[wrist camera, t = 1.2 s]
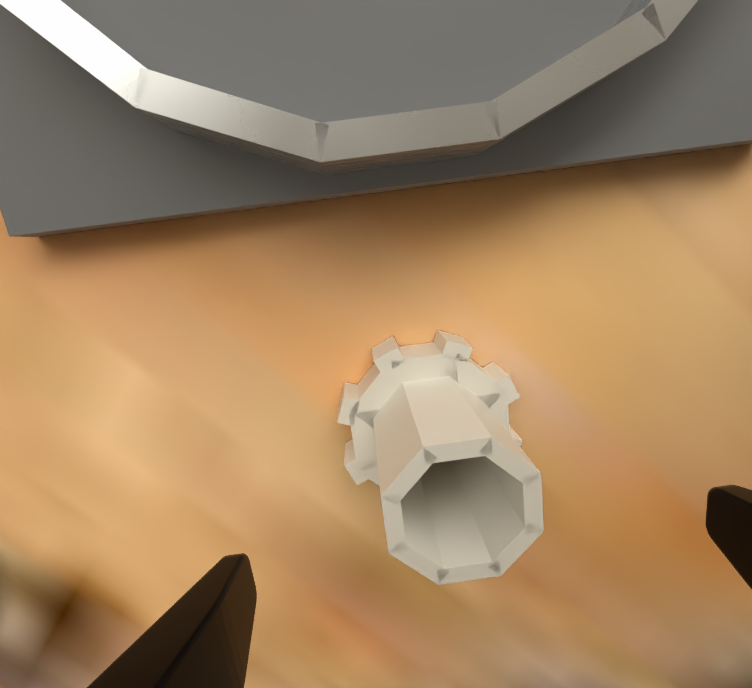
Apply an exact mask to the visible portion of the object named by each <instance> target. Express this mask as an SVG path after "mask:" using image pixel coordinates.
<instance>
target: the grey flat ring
mask: <svg viewBox="0 0 752 688" xmlns="http://www.w3.org/2000/svg"><path fill="white" fill-rule="evenodd" d="M697 1H698V0H633V1H632V2H631V3H630V4H629V6H628V7H627V8H626V10H625V11H624V12H623V13H622V15H621V16H620V17H619V19H618V20H617V21H616V22H615V24H614V25H613V26H612V27H611V29H609V30H608V31H606V32H604V33H603V34H601V35H599V36H598V37H596V38H594V39H593V40H591V41H589V42H588V43H586V44H584V45H583V46H581V47H579V48H578V49H576V50H574V51H573V52H571V53H569V54H568V55H566V56H565V57H563V58H561V59H560V60H558V61H556V62H555V63H553V64H551V65H550V66H548V67H546V68H545V69H543V70H541V71H540V72H538V73H536V74H535V75H533V76H531V77H530V78H528V79H527V80H525V81H523V82H522V83H520V84H518V85H517V86H515V87H513V88H512V89H510V90H508V91H507V92H505V93H503V94H502V95H500V96H498V97H497V98H495V99H493V100H492V101H488V102H480V103H472V104H465V105H457V106H449V107H441V108H433V109H425V110H418V111H410V112H402V113H394V114H386V115H378V116H371V117H363V118H355V119H347V120H339V121H331V122H324V123H321V122H318V121H315V120H311V119H308V118H305V117H302V116H298V115H295V114H292V113H288V112H285V111H282V110H279V109H275V108H272V107H269V106H266V105H262V104H259V103H256V102H253V101H249V100H246V99H243V98H239V97H236V96H233V95H230V94H226V93H223V92H220V91H217V90H213V89H210V88H207V87H204V86H200V85H197V84H194V83H191V82H187V81H184V80H181V79H177V78H174V77H171V76H168V75H164V74H161V73H158V72H155V71H151V70H148V69H147V68H145V67H144V66H143V65H141V64H140V63H139V62H138V61H136V60H135V59H134V58H133V57H131V56H130V55H129V54H128V53H126V52H125V51H124V50H123V49H121V48H120V47H119V46H117V45H116V44H115V43H114V42H112V41H111V40H110V39H109V38H107V37H106V36H105V35H104V34H102V33H101V32H100V31H99V30H97V29H96V28H95V27H93V26H92V25H91V24H90V23H88V22H87V21H86V20H85V19H83V18H82V17H81V16H80V15H78V14H77V13H76V12H75V11H73V10H72V9H71V8H69V7H68V6H67V5H66V4H64V3H63V2H62V1H61V0H0V4H1V5H2V6H4V7H5V8H6V9H8V10H9V11H10V12H11V13H13V14H14V15H15V16H17V17H18V18H19V19H21V20H22V21H23V22H24V23H26V24H27V25H28V26H30V27H31V28H32V29H34V30H35V31H36V32H37V33H39V34H40V35H41V36H43V37H44V38H45V39H47V40H48V41H49V42H51V43H52V44H53V45H54V46H56V47H57V48H58V49H60V50H61V51H62V52H64V53H65V54H66V55H67V56H69V57H70V58H71V59H73V60H74V61H75V62H77V63H78V64H79V65H80V66H82V67H83V68H84V69H86V70H87V71H88V72H90V73H91V74H92V75H93V76H95V77H96V78H97V79H99V80H100V81H101V82H103V83H104V84H105V85H106V86H108V87H109V88H110V89H112V90H113V91H114V92H116V93H117V94H118V95H119V96H121V97H122V98H123V99H125V100H126V101H127V102H129V103H130V104H131V105H132V106H134V107H135V108H137V109H138V110H140V111H142V112H143V113H145V114H147V115H148V116H150V117H152V118H153V119H155V120H157V121H158V122H160V123H162V124H163V125H165V126H167V127H168V128H170V129H172V130H173V131H176V132H180V133H183V134H187V135H190V136H194V137H197V138H200V139H204V140H207V141H211V142H214V143H217V144H221V145H224V146H228V147H231V148H234V149H238V150H241V151H245V152H248V153H251V154H255V155H258V156H262V157H265V158H269V159H272V160H275V161H279V162H282V163H286V164H289V165H292V166H296V167H299V168H303V169H306V170H309V171H313V172H316V173H320V174H323V175H334V174H342V173H349V172H357V171H365V170H373V169H380V168H388V167H396V166H404V165H411V164H419V163H427V162H434V161H442V160H450V159H458V158H465V157H473V156H477V155H478V154H480V153H482V152H483V151H485V150H487V149H488V148H490V147H492V146H494V145H495V144H497V143H499V142H500V141H502V140H504V139H505V138H507V137H509V136H510V135H512V134H514V133H515V132H517V131H519V130H520V129H522V128H524V127H525V126H527V125H529V124H530V123H532V122H534V121H536V120H537V119H539V118H541V117H542V116H544V115H546V114H547V113H549V112H551V111H552V110H554V109H556V108H557V107H559V106H561V105H562V104H564V103H566V102H567V101H569V100H571V99H572V98H574V97H576V96H578V95H579V94H581V93H583V92H584V91H586V90H588V89H589V88H591V87H593V86H594V85H596V84H598V83H599V82H601V81H603V80H604V79H606V78H608V77H609V76H611V75H613V74H614V73H616V72H617V71H619V70H620V69H622V68H624V67H625V66H627V65H628V64H630V63H631V62H633V61H634V60H636V59H637V58H639V57H641V56H642V55H644V54H645V53H647V52H648V51H650V50H651V49H653V48H654V47H656V46H658V45H659V44H661V43H662V42H664V41H665V40H666V39H667V38H668V37H669V36H670V34H671V33H672V32H673V31H674V29H675V28H676V27H677V26H678V25H679V23H680V22H681V21H682V20H683V18H684V17H685V16H686V15H687V13H688V12H689V11H690V10H691V8H692V7H693V6H694V5H695V4H696V2H697Z"/></svg>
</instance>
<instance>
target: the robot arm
mask: <svg viewBox="0 0 752 688" xmlns="http://www.w3.org/2000/svg"><path fill="white" fill-rule="evenodd" d="M706 529H707V531H708V534H709V535H710V537H711V539H712V540H713V541H714V542H715V544H716V545H717V546H718V548H719V549H720V550H721V551H722V553H723V554H724V555H725V556H726V558H727V559H728V560H729V561H730V563H731V564H732V565H733V566H734V568H735V569H736V570H737V571H738V573H739V574H740V575H741V576H742V578H743V579H744V580H745V582H746V583H747V584H748V585H749V587H750V588H751V589H752V490H749V489H746V488H743V487H740V486H736V485H727V486H720V487H714V488H712V489H710V491H709V492H708V496H707V510H706ZM256 599H257V593H256V586H255V582H254V578H253V573H252V569H251V565H250V561H249V558H248V556H247V555H246V554H244V553H242V554H235V555H228V556H225V557H223V558H222V559H221V560H220V561H219V562H218V563H217V564H216V565H215V566H214V567H213V568H212V569H210V570H209V571H208V572H207V573H206V574H205V575H204V576H203V577H202V578H201V579H200V580H199V581H198V582H197V583H196V584H195V585H194V586H193V587H192V588H191V589H190V590H188V591H187V592H186V593H185V594H184V595H183V596H182V597H181V598H180V599H179V600H178V601H177V602H176V603H175V604H174V605H173V606H172V607H171V608H170V609H169V610H168V611H167V612H165V613H164V614H163V615H162V616H161V617H160V618H159V619H158V620H157V621H156V622H155V623H154V624H153V625H152V626H151V627H150V628H149V629H148V630H147V631H146V632H145V633H144V634H142V635H141V636H140V637H139V638H138V639H137V640H136V641H135V642H134V643H133V644H132V645H131V646H130V647H129V648H128V649H127V650H126V651H125V652H124V653H123V654H122V655H120V656H119V657H118V658H117V659H116V660H115V661H114V662H113V663H112V664H111V665H110V666H109V667H108V668H107V669H106V670H105V671H104V672H103V673H102V674H101V675H100V676H99V677H97V678H96V679H95V680H94V681H93V682H92V683H91V684H90V685H89V686H88V687H87V688H244V683H245V677H246V670H247V663H248V656H249V649H250V643H251V636H252V629H253V622H254V615H255V608H256Z"/></svg>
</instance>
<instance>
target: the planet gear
mask: <svg viewBox="0 0 752 688" xmlns="http://www.w3.org/2000/svg"><path fill="white" fill-rule="evenodd" d="M472 348H473V347H472V346H471V345H470V344H469V343H468V342H467V341H465V340H464V339H463V338H462V337H461V336H459V335H455V334H451V333H447V332H443V331H439V330H437V332H436V335H435V338H434V342H430V343H423V344H415V345H408V346H401V347H399V345H398V344H397V342H396V340H395V338H394V337H393V336H392V337H390V338H388V339H387V340H385V341H383V342H381V343H380V344H378V345H376V346H374V347H372V355H373V361H374V364H373V366H372V367H371V368H370V369H369V371H368V372H367V373H366V374H365V376H364V377H363V378H362V379H361V381H360V382H359V383H358V384H357V385H356V384H352V383H348V382H345V383H344V387H343V391H342V395H341V398H340V402H339V409H338V418H337V423H341V424H345V425H349V426H351V432H352V438H353V439H352V440H350V441H348V442H346V443H345V457H344V466H345V468H346V469H347V471H348V472H349V474H350V475H351V477H352V478H353V480H354V481H355V483H356V484H357V485H359V484H361V483H363V482H365V481H366V480H368V479H369V480H371V481H372V482H374V483H375V484H377V485H378V486H380V496H381V503H382V510H383V517H384V524H385V531H386V538H387V546H388V553H389V554H390V555H392V556H393V557H395V558H397V559H398V560H400V561H401V562H403V563H404V564H406V565H408V566H409V567H411V568H412V569H414V570H416V571H417V572H419V573H420V574H422V575H423V576H425V577H427V578H428V579H430V580H431V581H433V582H434V583H436V584H438V585H441V584H448V583H455V582H462V581H469V580H476V579H483V578H490V577H497V576H501V575H502V574H503V573H504V572H505V571H506V570H507V569H508V568H509V567H510V566H511V565H512V564H513V563H514V562H515V561H516V560H517V559H518V558H519V557H520V555H521V554H522V553H523V552H524V551H525V550H526V549H527V548H528V547H529V546H530V545H531V544H532V543H533V542H534V541H535V540H536V539H537V538H538V537H539V536H540V535H541V534H542V533H543V503H542V476H541V473H540V472H539V470H538V469H537V468H536V466H535V465H534V464H533V463H532V461H531V460H530V459H529V458H528V456H527V455H526V454H525V453H524V451H523V450H522V449H521V448H520V446H521V443H522V440H521V438H520V437H519V436H518V435H517V434H516V432H515V431H514V430H513V429H512V428H511V426H510V425H509V411H508V404H509V403H511V402H513V401H515V400H517V399H518V398H520V396H519V394H518V392H517V390H516V388H515V386H514V384H513V382H512V380H511V378H510V376H509V375H508V374H507V373H506V372H505V371H503V370H502V369H501V368H500V367H499V366H498V365H497V364H495V363H494V362H492V363H490V364H488V365H486V366H484V367H483V368H482V367H480V366H479V365H478V364H477V363H475V362H474V361H473V360H471V359H470V358H469V357H470V354H471V351H472Z"/></svg>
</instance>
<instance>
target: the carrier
mask: <svg viewBox="0 0 752 688" xmlns="http://www.w3.org/2000/svg"><path fill="white" fill-rule="evenodd" d="M61 1H62V2H63V3H64V4H66V5H67V6H68V7H69V8H71V9H72V10H73V11H75V12H76V13H77V14H78V15H80V16H81V17H82V18H83V19H85V20H86V21H87V22H88V23H90V24H91V25H92V26H93V27H95V28H96V29H97V30H99V31H100V32H101V33H102V34H104V35H105V36H106V37H107V38H109V39H110V40H111V41H112V42H114V43H115V44H116V45H117V46H119V47H120V48H121V49H123V50H124V51H125V52H126V53H128V54H129V55H130V56H131V57H133V58H134V59H135V60H136V61H138V62H139V63H140V64H141V65H143V66H144V67H145V68H147V69H148V70H151V71H155V72H158V73H161V74H164V75H168V76H171V77H174V78H177V79H181V80H184V81H187V82H191V83H194V84H197V85H200V86H204V87H207V88H210V89H213V90H217V91H220V92H223V93H226V94H230V95H233V96H236V97H239V98H243V99H246V100H249V101H253V102H256V103H259V104H262V105H266V106H269V107H272V108H275V109H279V110H282V111H285V112H288V113H292V114H295V115H298V116H302V117H305V118H308V119H311V120H315V121H318V122H321V123H324V122H331V121H339V120H347V119H355V118H363V117H371V116H378V115H386V114H394V113H402V112H410V111H418V110H425V109H433V108H441V107H449V106H457V105H465V104H472V103H480V102H488V101H492V100H493V99H495V98H497V97H498V96H500V95H502V94H503V93H505V92H507V91H508V90H510V89H512V88H513V87H515V86H517V85H518V84H520V83H522V82H523V81H525V80H527V79H528V78H530V77H531V76H533V75H535V74H536V73H538V72H540V71H541V70H543V69H545V68H546V67H548V66H550V65H551V64H553V63H555V62H556V61H558V60H560V59H561V58H563V57H565V56H566V55H568V54H569V53H571V52H573V51H574V50H576V49H578V48H579V47H581V46H583V45H584V44H586V43H588V42H589V41H591V40H593V39H594V38H596V37H598V36H599V35H601V34H603V33H604V32H606V31H608V30H609V29H611V27H612V26H613V25H614V24H615V22H616V21H617V20H618V19H619V17H620V16H621V15H622V13H623V12H624V11H625V10H626V8H627V7H628V6H629V4H630V3H631V2H632V1H633V0H61ZM745 144H752V0H698V1H697V2H696V4H695V5H694V6H693V7H692V8H691V10H690V11H689V12H688V13H687V15H686V16H685V17H684V18H683V20H682V21H681V22H680V23H679V25H678V26H677V27H676V28H675V29H674V31H673V32H672V33H671V34H670V36H669V37H668V38H667V39H666V40H665V41H664V42H662V43H661V44H659V45H658V46H656V47H654V48H653V49H651V50H650V51H648V52H647V53H645V54H644V55H642V56H641V57H639V58H637V59H636V60H634V61H633V62H631V63H630V64H628V65H627V66H625V67H624V68H622V69H620V70H619V71H617V72H616V73H614V74H613V75H611V76H609V77H608V78H606V79H604V80H603V81H601V82H599V83H598V84H596V85H594V86H593V87H591V88H589V89H588V90H586V91H584V92H583V93H581V94H579V95H578V96H576V97H574V98H572V99H571V100H569V101H567V102H566V103H564V104H562V105H561V106H559V107H557V108H556V109H554V110H552V111H551V112H549V113H547V114H546V115H544V116H542V117H541V118H539V119H537V120H536V121H534V122H532V123H530V124H529V125H527V126H525V127H524V128H522V129H520V130H519V131H517V132H515V133H514V134H512V135H510V136H509V137H507V138H505V139H504V140H502V141H500V142H499V143H497V144H495V145H494V146H492V147H490V148H488V149H487V150H485V151H483V152H482V153H480V154H478V155H477V156H473V157H465V158H458V159H450V160H442V161H434V162H427V163H419V164H411V165H404V166H396V167H388V168H380V169H373V170H365V171H357V172H349V173H342V174H334V175H323V174H320V173H316V172H313V171H309V170H306V169H303V168H299V167H296V166H292V165H289V164H286V163H282V162H279V161H275V160H272V159H269V158H265V157H262V156H258V155H255V154H251V153H248V152H245V151H241V150H238V149H234V148H231V147H228V146H224V145H221V144H217V143H214V142H211V141H207V140H204V139H200V138H197V137H194V136H190V135H187V134H183V133H180V132H176V131H173V130H172V129H170V128H168V127H167V126H165V125H163V124H162V123H160V122H158V121H157V120H155V119H153V118H152V117H150V116H148V115H147V114H145V113H143V112H142V111H140V110H138V109H137V108H135V107H134V106H132V105H131V104H130V103H129V102H127V101H126V100H125V99H123V98H122V97H121V96H119V95H118V94H117V93H116V92H114V91H113V90H112V89H110V88H109V87H108V86H106V85H105V84H104V83H103V82H101V81H100V80H99V79H97V78H96V77H95V76H93V75H92V74H91V73H90V72H88V71H87V70H86V69H84V68H83V67H82V66H80V65H79V64H78V63H77V62H75V61H74V60H73V59H71V58H70V57H69V56H67V55H66V54H65V53H64V52H62V51H61V50H60V49H58V48H57V47H56V46H54V45H53V44H52V43H51V42H49V41H48V40H47V39H45V38H44V37H43V36H41V35H40V34H39V33H37V32H36V31H35V30H34V29H32V28H31V27H30V26H28V25H27V24H26V23H24V22H23V21H22V20H21V19H19V18H18V17H17V16H15V15H14V14H13V13H11V12H10V11H9V10H8V9H6V8H5V7H4V6H2V5H1V4H0V209H1V212H2V215H3V218H4V222H5V225H6V228H7V231H8V234H9V236H20V237H38V236H46V235H53V234H61V233H69V232H76V231H84V230H92V229H99V228H107V227H115V226H122V225H130V224H138V223H146V222H153V221H161V220H169V219H176V218H184V217H192V216H199V215H207V214H215V213H222V212H230V211H238V210H245V209H253V208H261V207H268V206H276V205H284V204H291V203H299V202H307V201H315V200H322V199H330V198H338V197H345V196H353V195H361V194H368V193H376V192H384V191H391V190H399V189H407V188H414V187H422V186H430V185H437V184H445V183H453V182H460V181H468V180H476V179H484V178H491V177H499V176H507V175H514V174H522V173H530V172H537V171H545V170H553V169H560V168H568V167H576V166H583V165H591V164H599V163H606V162H614V161H622V160H629V159H637V158H645V157H652V156H660V155H668V154H676V153H683V152H691V151H699V150H706V149H714V148H722V147H729V146H737V145H745Z"/></svg>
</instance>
